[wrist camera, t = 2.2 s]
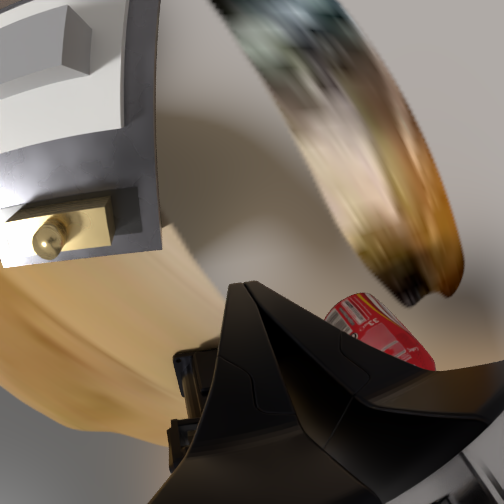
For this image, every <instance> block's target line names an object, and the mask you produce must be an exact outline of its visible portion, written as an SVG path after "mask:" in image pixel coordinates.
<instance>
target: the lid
mask: <svg viewBox="0 0 504 504" xmlns="http://www.w3.org/2000/svg"><path fill="white" fill-rule="evenodd" d="M128 8H129V0H33V1H31V2H28V3H25V4H23V5H20V6H18V7H15V8H13V9H11V10H8V11H6V12H4V13H2V14H0V154H1V153H4V152H8V151H11V150H15V149H19V148H22V147H26V146H30V145H34V144H38V143H42V142H47V141H51V140H56V139H60V138H65V137H70V136H75V135H81V134H87V133H93V132H99V131H105V130H112V129H120V128H123V127H124V60H125V41H126V28H127V18H128Z"/></svg>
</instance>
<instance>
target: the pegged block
mask: <svg viewBox="0 0 504 504" xmlns="http://www.w3.org/2000/svg"><path fill="white" fill-rule="evenodd" d="M4 225H5V229H6V232H7V236H8V239H9V243H10V246H11V250H12V253H13V256H14V258H15V257H22V256H30V255H38V256H39V257H41V258H42V259H45V260H53V259H55V258H56V257H57V256H58V255H59V254H60V252H61V251H69V250H77V249H85V248H94V247H102V246H111V244H112V241H113V237H114V234H115V231H116V230H115V224H114V217H113V210H112V203H111V196H105V197H97V198H90V199H83V200H76V201H70V202H63V203H57V204H51V205H46V206H40V207H34V208H29V209H24V210H19V211H17V212H16V213H14V214H13V215H12V216H11V217H10V218H9V219H8V220H7V221H6V222H5V223H4Z"/></svg>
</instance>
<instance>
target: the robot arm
mask: <svg viewBox="0 0 504 504" xmlns="http://www.w3.org/2000/svg"><path fill="white" fill-rule="evenodd" d="M177 359H179V360H177ZM173 364H174V368H175V372H176V376H177V380H178V384H179V388H180V392H181V395H182V397H185V403H186V408H187V414H188V419H182V420H177V419H173V420H171V428H170V429H168V430H167V436H168V443H169V470H170V472H171V475H170V477H169V478H168V479H167V481H166V482H165V483H164V484H163V485H162V487H161V488H160V489H159V490H158V492H157V493H156V494H155V495H154V496H153V498H152V499H151V500H150V501H149V502H148V504H504V360H503V361H499V362H494V363H489V364H484V365H478V366H473V367H467V368H461V369H455V370H447V371H432V370H427V369H423V368H420V367H418V366H415V365H413V364H411V363H408V362H406V361H404V360H401V359H399V358H397V357H394V356H392V355H390V354H388V353H385V352H383V351H381V350H379V349H377V348H374V347H372V346H370V345H368V344H366V343H364V342H362V341H360V340H359V339H357V338H355V337H353V336H351V335H349V334H348V333H346V332H344V331H341V330H340V329H339V328H337V327H335V326H333V325H332V324H330V323H328V322H326V321H325V320H323V319H321V318H319V317H318V316H316V315H314V314H312V313H311V312H309V311H307V310H305V309H304V308H302V307H300V306H299V305H297V304H295V303H294V302H292V301H290V300H288V299H286V298H285V297H283V296H281V295H280V294H278V293H276V292H275V291H273V290H271V289H270V288H268V287H266V286H265V285H263V284H261V283H259V282H258V281H249V282H244V283H233V284H229V286H228V292H227V298H226V304H225V310H224V316H223V322H222V328H221V334H220V341H219V347H218V349H211V350H205V351H197V352H190V353H182V354H176V355H174V356H173Z"/></svg>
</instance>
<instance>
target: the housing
mask: <svg viewBox="0 0 504 504" xmlns="http://www.w3.org/2000/svg"><path fill="white" fill-rule="evenodd" d="M31 1H33V0H21V1H18V2H16V3H14V4H11V5H9V6H7V7H5V8H2V9H0V14H2V13H4V12H6V11H8V10H11V9H13V8H15V7H18V6H20V5H23V4H25V3H28V2H31ZM160 2H161V0H129V8H128V18H127V28H126V41H125V60H124V127H123V128H120V129H112V130H105V131H99V132H93V133H87V134H81V135H75V136H70V137H65V138H60V139H56V140H51V141H47V142H42V143H38V144H34V145H30V146H26V147H22V148H19V149H15V150H11V151H8V152H4V153H1V154H0V258H1V261H2V264H3V267H4V268H6V267H14V266H22V265H30V264H38V263H47V262H55V261H64V260H72V259H81V258H90V257H98V256H107V255H116V254H126V253H135V252H144V251H153V250H162V225H161V214H160V202H159V189H158V173H157V154H156V153H157V152H156V116H155V115H156V114H155V113H156V112H155V110H156V109H155V108H156V105H155V103H156V98H155V96H156V58H157V57H156V56H157V38H158V24H159V12H160ZM105 196H111V203H112V210H113V217H114V224H115V230H116V231H115V234H114V237H113V241H112V244H111V246H102V247H94V248H85V249H77V250H69V251H61V252H60V254H59V255H58V256H57V257H56V258H55V259H53V260H45V259H42V258H41V257H39V256H38V255H30V256H22V257H15V258H14V256H13V253H12V250H11V246H10V243H9V239H8V236H7V232H6V229H5V225H4V223H5V222H6V221H7V220H8V219H9V218H10V217H11V216H12V215H13V214H14V213H16V212H17V211H19V210H24V209H29V208H34V207H40V206H46V205H51V204H57V203H63V202H70V201H76V200H83V199H90V198H97V197H105Z"/></svg>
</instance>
